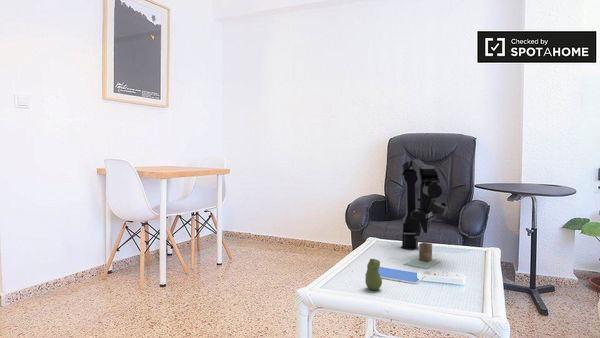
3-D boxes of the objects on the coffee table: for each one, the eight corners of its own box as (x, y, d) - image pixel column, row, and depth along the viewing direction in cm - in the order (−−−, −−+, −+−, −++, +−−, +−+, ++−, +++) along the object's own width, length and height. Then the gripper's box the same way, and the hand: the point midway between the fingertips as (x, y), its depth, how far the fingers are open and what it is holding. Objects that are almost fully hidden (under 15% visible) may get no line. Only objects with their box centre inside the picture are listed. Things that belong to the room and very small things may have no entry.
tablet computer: (426, 277, 146) (426, 273, 146) (417, 286, 135) (417, 282, 135) (376, 269, 156) (376, 265, 156) (364, 277, 145) (364, 273, 145)
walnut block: (419, 260, 166) (419, 244, 166) (422, 258, 169) (422, 242, 169) (428, 262, 164) (428, 245, 163) (431, 260, 167) (432, 243, 166)
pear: (368, 285, 134) (368, 256, 134) (383, 288, 132) (384, 258, 131) (363, 290, 129) (363, 260, 129) (379, 293, 127) (379, 262, 126)
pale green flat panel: (403, 264, 161) (403, 263, 161) (416, 257, 172) (416, 257, 172) (427, 268, 155) (427, 268, 155) (439, 261, 166) (439, 260, 166)
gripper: (437, 199, 153) (437, 238, 154) (453, 195, 168) (452, 232, 168) (410, 197, 160) (409, 235, 161) (427, 193, 175) (426, 228, 175)
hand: (425, 232), depth 166 cm, fingers closed
